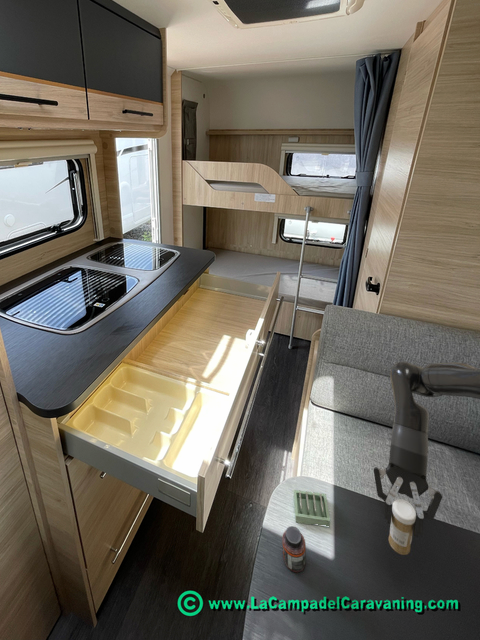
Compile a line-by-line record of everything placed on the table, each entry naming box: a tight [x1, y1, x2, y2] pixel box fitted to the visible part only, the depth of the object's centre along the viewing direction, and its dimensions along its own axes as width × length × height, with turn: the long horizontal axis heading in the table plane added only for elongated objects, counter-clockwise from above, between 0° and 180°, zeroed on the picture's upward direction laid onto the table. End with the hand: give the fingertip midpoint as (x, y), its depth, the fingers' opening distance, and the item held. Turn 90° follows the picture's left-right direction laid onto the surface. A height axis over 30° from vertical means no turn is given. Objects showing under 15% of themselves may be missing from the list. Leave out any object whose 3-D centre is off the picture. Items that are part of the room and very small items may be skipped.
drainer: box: [293, 489, 331, 528], centre depth 98 cm, size 10×8×3 cm
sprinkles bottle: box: [388, 498, 416, 556], centre depth 76 cm, size 5×5×13 cm
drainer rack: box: [299, 489, 324, 517], centre depth 98 cm, size 6×5×4 cm
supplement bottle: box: [281, 525, 307, 573], centre depth 86 cm, size 6×6×11 cm
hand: (402, 528), depth 74 cm, fingers closed on sprinkles bottle, 4 cm apart
